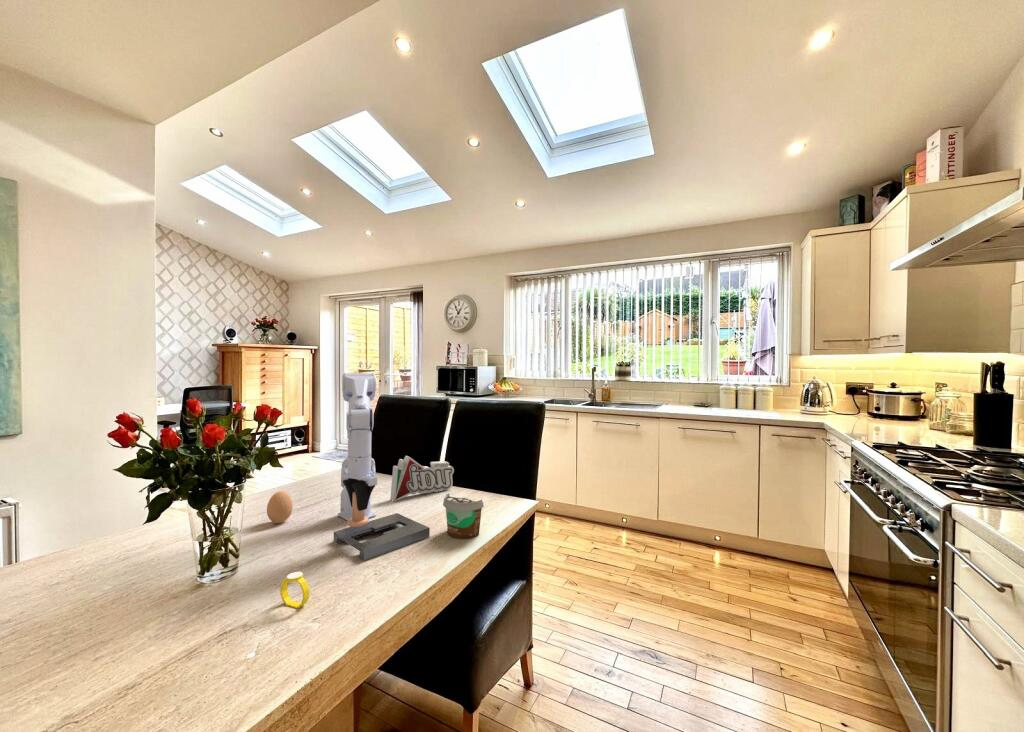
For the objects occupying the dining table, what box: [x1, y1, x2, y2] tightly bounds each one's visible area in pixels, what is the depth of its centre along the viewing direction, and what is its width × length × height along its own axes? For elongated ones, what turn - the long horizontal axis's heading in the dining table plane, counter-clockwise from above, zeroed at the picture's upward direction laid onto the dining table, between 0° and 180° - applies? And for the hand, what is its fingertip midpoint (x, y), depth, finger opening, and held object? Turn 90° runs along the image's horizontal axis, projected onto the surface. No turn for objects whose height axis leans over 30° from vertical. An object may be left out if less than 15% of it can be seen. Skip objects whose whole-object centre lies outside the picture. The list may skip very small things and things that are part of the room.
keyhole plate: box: [333, 513, 431, 562], centre depth 110 cm, size 16×19×2 cm
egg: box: [266, 490, 294, 524], centre depth 120 cm, size 7×7×9 cm
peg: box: [347, 492, 370, 527], centre depth 106 cm, size 5×5×8 cm
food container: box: [442, 492, 485, 540], centre depth 113 cm, size 12×6×10 cm, turn 62°
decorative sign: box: [389, 455, 455, 502], centre depth 149 cm, size 23×3×15 cm, turn 130°
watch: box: [279, 571, 310, 609], centre depth 79 cm, size 6×3×6 cm, turn 71°
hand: (359, 507), depth 106 cm, fingers closed on peg, 3 cm apart
